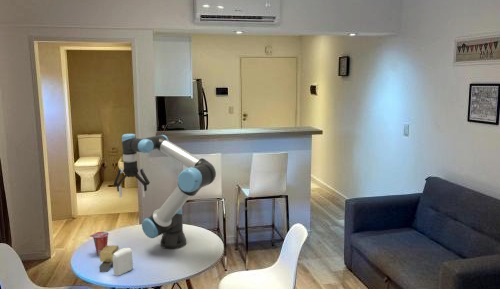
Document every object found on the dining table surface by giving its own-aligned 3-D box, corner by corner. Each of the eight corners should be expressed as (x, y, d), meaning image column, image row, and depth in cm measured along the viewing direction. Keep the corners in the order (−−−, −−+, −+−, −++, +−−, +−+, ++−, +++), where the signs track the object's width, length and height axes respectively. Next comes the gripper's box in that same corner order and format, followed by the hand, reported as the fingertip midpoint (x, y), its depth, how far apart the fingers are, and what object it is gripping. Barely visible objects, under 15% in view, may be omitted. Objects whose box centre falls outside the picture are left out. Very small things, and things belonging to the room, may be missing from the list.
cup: (105, 249, 237) (104, 230, 235) (112, 254, 231) (111, 234, 229) (89, 254, 231) (88, 234, 228) (96, 259, 225) (94, 239, 223)
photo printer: (117, 276, 206) (115, 254, 204) (112, 274, 209) (110, 251, 206) (134, 269, 214) (133, 247, 211) (129, 266, 216) (128, 245, 214)
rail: (112, 256, 229) (111, 251, 228) (119, 256, 229) (118, 251, 228) (99, 272, 211) (99, 266, 210) (107, 272, 211) (106, 266, 210)
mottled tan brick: (118, 260, 224) (117, 245, 223) (112, 267, 215) (111, 252, 214) (107, 260, 224) (105, 245, 223) (100, 267, 215) (99, 252, 214)
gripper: (153, 159, 237) (155, 194, 241) (110, 159, 237) (113, 195, 240) (150, 161, 229) (152, 198, 233) (106, 162, 229) (108, 198, 233)
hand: (132, 196), depth 237 cm, fingers open, 13 cm apart
